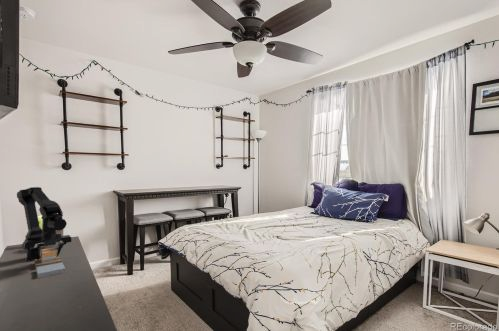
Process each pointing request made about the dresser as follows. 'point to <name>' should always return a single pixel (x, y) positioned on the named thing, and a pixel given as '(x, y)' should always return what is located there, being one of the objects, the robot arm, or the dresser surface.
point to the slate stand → (50, 270)
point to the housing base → (48, 259)
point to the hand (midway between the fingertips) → (48, 258)
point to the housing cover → (48, 252)
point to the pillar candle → (56, 242)
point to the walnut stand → (38, 262)
